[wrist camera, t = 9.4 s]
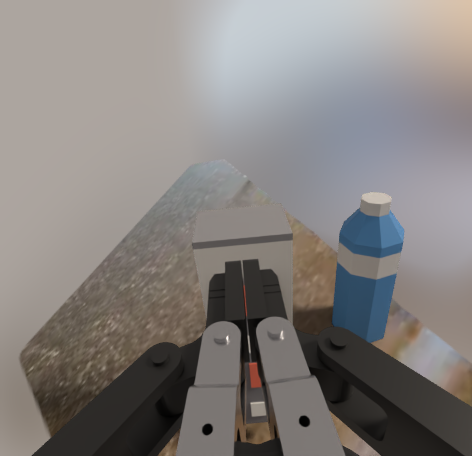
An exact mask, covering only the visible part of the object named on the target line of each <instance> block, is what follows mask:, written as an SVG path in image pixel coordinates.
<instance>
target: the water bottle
mask: <svg viewBox="0 0 472 456" xmlns="http://www.w3.org/2000/svg"><path fill="white" fill-rule="evenodd" d="M391 199H392V197H390V196H388V195H386V194H384V193H376V192H371V193H367V194H363V195H362V198H361V205H360V208H359V209H358V210H357V211H356V212H355V213H353V214H352V215H351V216H350V217H349V218H348V219H347V220H346V221H344V224H343V226H342V228H341V231H340V236H339V247H338V259H337V270H336V282H335V294H334V305H333V317H332V324H333V325H334V327H342V328H345V329H348V330H350V331H351V332H353V333H354V334H356V335H358V336H359V337H361V338H362V339H364V340H366V341H367V342H369V343H371V342H374V341H377V340H379V339H382V338H383V337H384V332H385V328H386V323H387V318H388V313H389V308H390V303H391V299H392V294H393V289H394V284H395V279H396V274H397V270H398V265H399V260H400V255H401V250H402V245H403V238H404V229H403V228H402V226H401V225H400V223H399V222H398V221H397V219H396V218H395V216H394V215H393V213H392V212H391V211H390V205H391Z"/></svg>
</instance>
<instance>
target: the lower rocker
mask: <svg viewBox="0 0 472 456" xmlns="http://www.w3.org/2000/svg"><path fill="white" fill-rule="evenodd" d="M245 374H246V424H248V423H260V422H268V419H267V414H266V409H265V403H264V398H263V393H262V388H261V382H260V378H259V375H258V370H257V362H247V363H245Z"/></svg>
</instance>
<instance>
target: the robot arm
mask: <svg viewBox="0 0 472 456" xmlns="http://www.w3.org/2000/svg"><path fill="white" fill-rule="evenodd" d="M242 262H243V274H244V285H243V275H242V265H241V260H238V261H227V262H225V273H219V274H214V275H213V277H212V278H211V280H210V281H209V292H208V307H207V321H206V329H205V331H204V333H203V334H202V336H201V337H200V338H198V339H197V340H196V341H194V342H192V343H190V344H188V345H185V346H182V347H180V348H179V347H178V346H177V345H175V344H173V343H169V342H163V343H159V344H156V345H154V346H152V347H151V348H149V349H148V350H147V351H146V352H145V353H144V354H143V355H141V356H140V357H139V358H138V359H137V360H136V361H135V362H134V363H133V364H132V365H130V366H129V367H128V368H127V369H126V370H125V371H124V372H123V373H122V374H121V375H120V376H118V377H117V378H116V379H115V380H114V381H113V382H112V383H111V384H110V385H109V386H107V387H106V388H105V389H104V390H103V391H102V392H101V393H100V394H99V395H98V396H96V397H95V398H94V399H93V400H92V401H91V402H90V403H89V404H88V405H87V406H86V407H84V408H83V409H82V410H81V411H80V412H79V413H78V414H77V415H76V416H75V417H73V418H72V419H71V420H70V421H69V422H68V423H67V424H66V425H65V426H64V427H62V428H61V429H60V430H59V431H58V432H57V433H56V434H55V435H54V436H53V437H52V438H50V439H49V440H48V441H47V442H46V443H45V444H44V445H43V446H42V447H41V448H39V449H38V450H37V451H36V452H35V453H34V454H33V455H32V456H158V454H159V453H160V452H161V451H162V449H163V448H164V447H165V446H166V444H167V443H168V442H169V441H170V439H171V438H172V437H173V436H174V435H175V433H176V432H177V431H178V430H179V428H180V427H181V431H180V436H179V441H178V447H177V452H176V456H359V455H358V454H356V453H355V452H353V451H352V450H350V449H348V448H346V447H344V446H342V445H341V442H340V439H339V437H338V434H337V431H336V428H335V426H334V423H333V420H332V418H331V415H330V412H329V411H331V412H332V413H333V414H334V415H335V416H336V417H338V418H339V419H340V420H341V421H342V422H343V423H344V424H346V425H347V426H348V427H349V428H350V429H351V430H352V431H354V432H355V433H356V434H357V435H358V436H359V437H360V438H362V439H363V440H364V441H365V442H366V443H367V444H368V445H370V446H371V447H372V448H373V449H374V450H375V451H377V452H378V453H379V454H380V455H381V456H472V407H471V406H469V405H468V404H466V403H465V402H463V401H461V400H460V399H458V398H457V397H455V396H453V395H452V394H450V393H449V392H447V391H445V390H444V389H442V388H441V387H439V386H437V385H436V384H434V383H433V382H431V381H429V380H428V379H426V378H425V377H423V376H422V375H420V374H418V373H417V372H415V371H414V370H412V369H410V368H409V367H407V366H406V365H404V364H402V363H401V362H399V361H398V360H396V359H394V358H393V357H391V356H390V355H388V354H386V353H385V352H383V351H382V350H380V349H378V348H377V347H375V346H374V345H372V344H370V343H369V342H367V341H366V340H364V339H362V338H361V337H359V336H358V335H356V334H354V333H353V332H351V331H350V330H348V329H345V328H342V327H328V328H326V329H324V330H322V331H321V332H320V334H319V336H318V335H313V334H307V333H304V332H301V331H299V330H297V329H295V328H294V326H293V325H292V323H290V322H289V321H288V318H287V314H286V310H285V306H284V301H283V297H282V293H281V289H280V285H279V280H278V276H277V275H276V274H275V273H274V271H273V270H272V269H263V270H260V267H259V260H258V259H249V260H242ZM244 286H245V295H244ZM245 298H246V307H245ZM246 310H247V319H246ZM247 321H248V331H249V341H250V350H251V360H252V362H257V370H258V375H259V378H260V382H261V388H262V393H263V398H264V403H265V409H266V414H267V419H268V424H269V430H270V436H271V440H269V441H267V442H264V443H262V444H251V443H246V374H245V363H247V362H250V356H249V344H248V332H247Z"/></svg>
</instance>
